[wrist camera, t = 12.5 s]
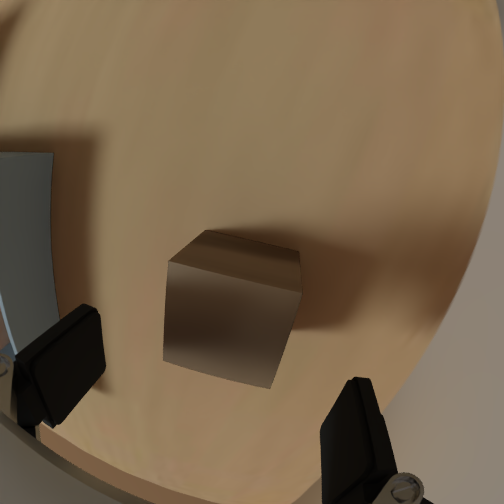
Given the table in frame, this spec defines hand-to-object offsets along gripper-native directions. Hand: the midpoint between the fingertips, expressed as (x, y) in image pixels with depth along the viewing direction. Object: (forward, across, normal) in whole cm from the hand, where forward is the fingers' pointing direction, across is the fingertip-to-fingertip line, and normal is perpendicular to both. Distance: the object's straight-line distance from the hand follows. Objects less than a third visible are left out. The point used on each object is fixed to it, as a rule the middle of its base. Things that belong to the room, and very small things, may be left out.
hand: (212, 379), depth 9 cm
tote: (+7, +22, +4) cm, 24 cm away
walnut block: (+7, 0, -1) cm, 7 cm away
